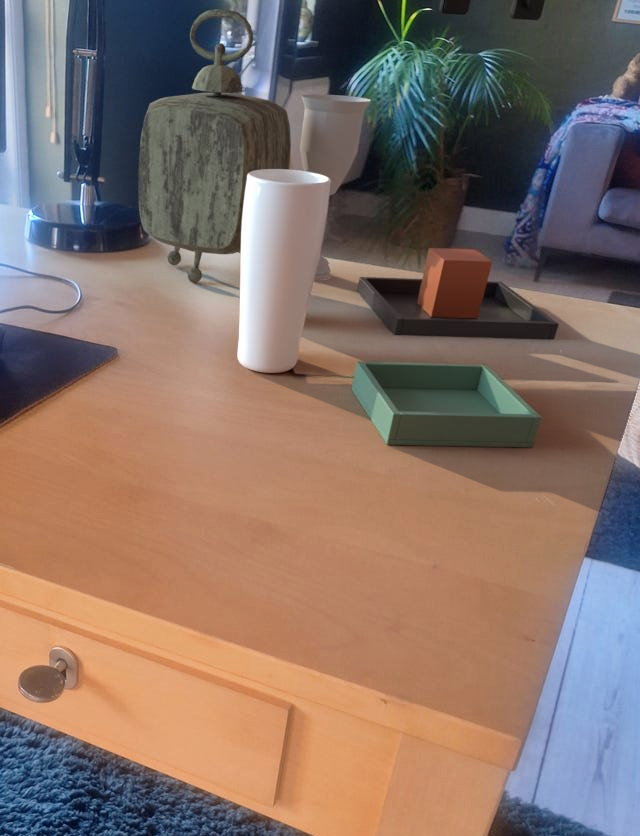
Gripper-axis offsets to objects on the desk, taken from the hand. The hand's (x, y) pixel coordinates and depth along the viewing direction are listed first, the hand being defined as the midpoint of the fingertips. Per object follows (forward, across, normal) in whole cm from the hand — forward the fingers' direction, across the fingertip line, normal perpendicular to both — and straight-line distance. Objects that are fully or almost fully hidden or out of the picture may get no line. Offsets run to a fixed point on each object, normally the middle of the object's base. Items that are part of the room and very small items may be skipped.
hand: (487, 16), depth 82 cm
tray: (+26, -28, +21) cm, 44 cm away
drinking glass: (+26, -13, +28) cm, 41 cm away
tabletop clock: (+26, +14, +21) cm, 36 cm away
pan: (+26, -7, +2) cm, 27 cm away
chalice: (+26, +11, +8) cm, 29 cm away
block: (+25, -6, +2) cm, 26 cm away
